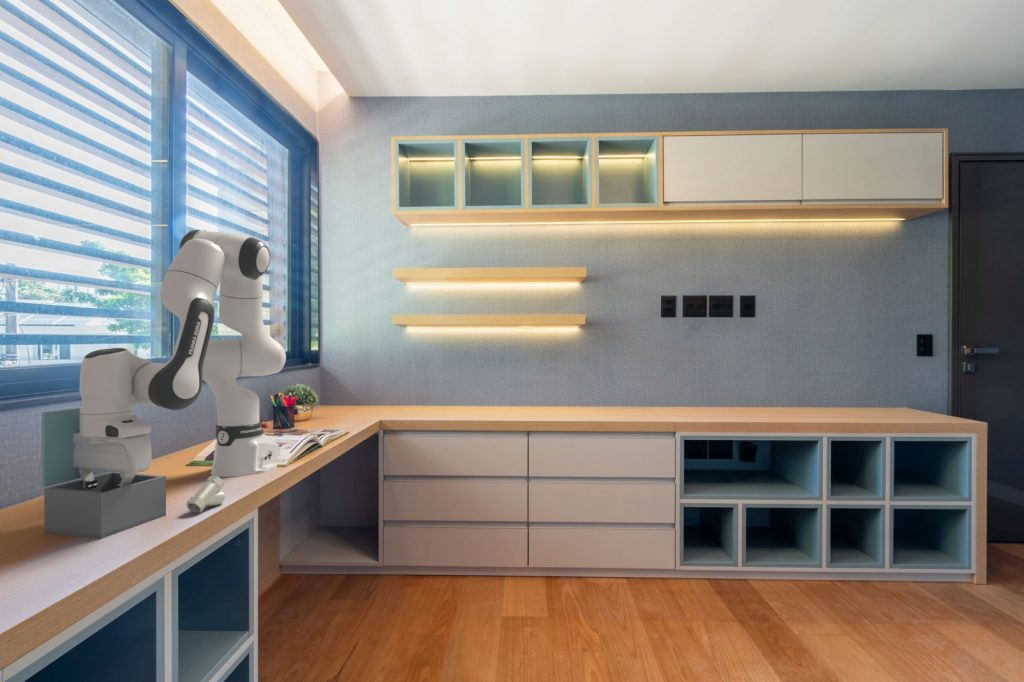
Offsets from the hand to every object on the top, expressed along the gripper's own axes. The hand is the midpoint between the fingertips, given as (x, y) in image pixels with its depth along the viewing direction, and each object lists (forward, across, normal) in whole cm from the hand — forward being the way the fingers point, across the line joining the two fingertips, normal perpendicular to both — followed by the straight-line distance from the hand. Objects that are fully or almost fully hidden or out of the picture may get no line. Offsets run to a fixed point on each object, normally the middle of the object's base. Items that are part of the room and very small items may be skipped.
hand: (106, 490), depth 110 cm
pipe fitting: (+8, +13, +15) cm, 21 cm away
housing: (+7, +1, 0) cm, 7 cm away
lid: (-2, -7, 0) cm, 7 cm away
